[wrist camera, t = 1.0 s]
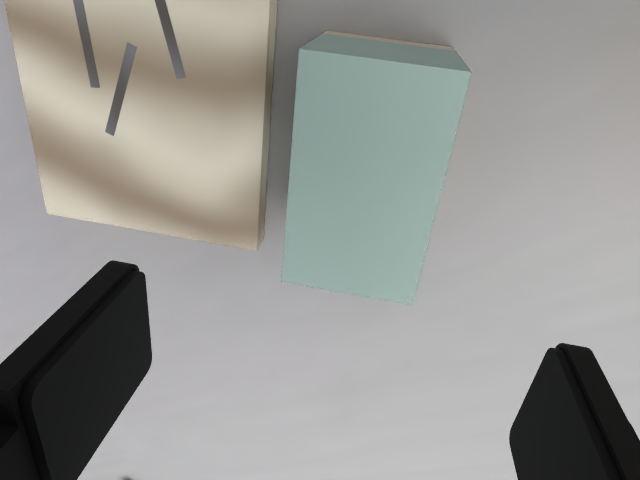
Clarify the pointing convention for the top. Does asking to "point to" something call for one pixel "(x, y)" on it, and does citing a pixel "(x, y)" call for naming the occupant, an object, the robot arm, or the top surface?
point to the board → (151, 111)
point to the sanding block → (368, 161)
